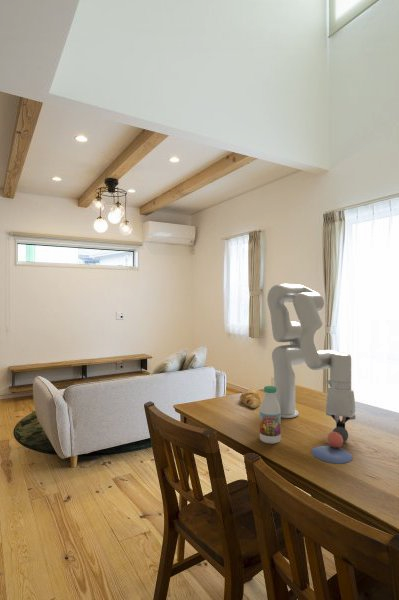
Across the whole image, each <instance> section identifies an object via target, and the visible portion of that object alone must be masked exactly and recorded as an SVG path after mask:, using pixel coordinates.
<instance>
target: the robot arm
mask: <svg viewBox="0 0 399 600" xmlns="http://www.w3.org/2000/svg"><path fill="white" fill-rule="evenodd" d="M266 296H267V298H266V300H267V301H266V302H267V305H268V310H269V314H270V315H269V316H270V321H271V322H270V323H271V331H272V336H273V339H274V341H275V342H277V343H289V344H285V345H279V346H276V347H275V348H273V350H272V353H271V360H272V365H273V386H274V387H276V398H277V401H278V403H279V406H280V413H281V418H283V419H292V418H296V417H298V416H299V414H300V413H299V411H298V410H297V409H296V374H295V371H294V369H293V366H296V365H302V364H305V365H306V366H307V367H308V368H309V369H310V370H313V371H317V370H318V371H319V370H329V369H330V373H329V374H330V377H329V378H330V379H329V380H326V384H327V385H329V387H327V391H326V392H327V393H326V403H325V411H326V412H325V414H326V416H329V417H331V418H332V419H333V420H334V421H335V423H336V425H335V426H336V427H343V428H345V429H346V422H348V421H351V420H356V419H357V416H356V401H355V400H356V399H355V393H354V389H353V388H352V356H351V354H350V353H346V352H340V351H339V352H338V351H336V350H333V349H323V350H322V349H320V350H317V348H316V346H315V340H314V338H315V334H316V332H317V331H318V330H320V329H321V328H322V326H323V322H322V319H321V317H320V315H319V311H321V310H322V309H323V308H324V305H325V301H324V297H323V296H322V295H321V294H320V293H319V292H317V291H315V290H314V289H313V290H312V289H311V288H309V287H306V286H304V285H302V284H298V283H297V284H295V283H292V284H291V283H278V284H274V285H273V286H272V287H271V288H270V289H269V290H268V293H267V295H266ZM285 303H292V304H293V308H294V310H295V313H296V315H297V318H298V321H299V322H298V321H291V319H290V313H289V310H288V308H287V306H286V305H285ZM340 416H341V417H342V418H341V419H340ZM336 427H335V428H336Z"/></svg>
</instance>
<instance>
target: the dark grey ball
mask: <svg viewBox="0 0 399 600" xmlns="http://www.w3.org/2000/svg"><path fill="white" fill-rule="evenodd" d="M332 432H338V433H339V434H340V435H341V436H342V438H343V443H345V442H347V440H348V439H349V432H348V431H347V429H346V427H345V428H343V427H335V428H333V429H332Z"/></svg>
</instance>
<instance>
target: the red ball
mask: <svg viewBox="0 0 399 600" xmlns="http://www.w3.org/2000/svg"><path fill="white" fill-rule="evenodd" d="M326 441H327V444H328V446H331V447H333V448H341V447H342V446H343V444H344V442H343V438H342V436H341V435H340V434H339V433H338V432H333V431H330V432H329V433H328V434H327V436H326Z"/></svg>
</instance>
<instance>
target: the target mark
mask: <svg viewBox="0 0 399 600" xmlns="http://www.w3.org/2000/svg"><path fill="white" fill-rule="evenodd" d="M311 454H312V456H313V457H315V458H316V459H317V460H320V461H322V462H325V463H329V464H334V465H335V464H337V465H339V464H341V465H342V464H343V465H344V464H347V463H350V462H352V460H353V455H352V453H350V452H349V451H347V450H346V449H343V448H341V447H339V448H333V447H331V446H330V445H320V446H315V447H313V448H312V449H311Z"/></svg>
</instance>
